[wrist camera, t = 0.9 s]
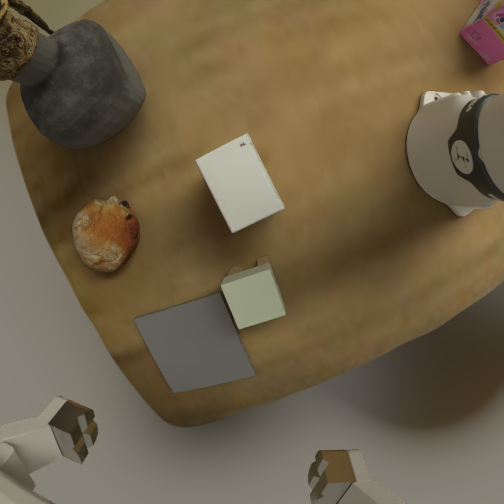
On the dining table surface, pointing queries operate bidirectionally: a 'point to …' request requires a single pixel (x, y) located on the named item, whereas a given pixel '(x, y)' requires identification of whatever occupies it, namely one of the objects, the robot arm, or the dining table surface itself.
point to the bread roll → (105, 234)
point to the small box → (239, 183)
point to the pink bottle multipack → (486, 30)
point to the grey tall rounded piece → (69, 77)
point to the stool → (253, 294)
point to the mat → (196, 344)
